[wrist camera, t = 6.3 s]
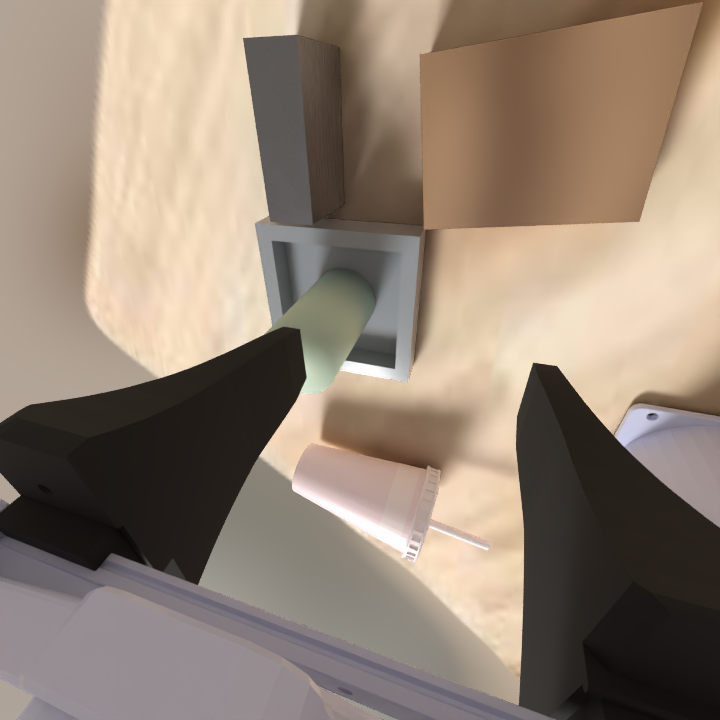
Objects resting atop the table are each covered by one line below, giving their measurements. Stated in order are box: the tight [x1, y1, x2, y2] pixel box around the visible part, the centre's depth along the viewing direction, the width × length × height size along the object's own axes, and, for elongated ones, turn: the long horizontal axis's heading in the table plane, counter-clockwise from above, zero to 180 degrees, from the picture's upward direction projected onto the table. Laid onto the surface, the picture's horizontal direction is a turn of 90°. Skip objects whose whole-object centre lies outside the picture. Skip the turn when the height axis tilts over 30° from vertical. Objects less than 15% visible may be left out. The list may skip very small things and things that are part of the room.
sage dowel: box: [264, 268, 376, 394], centre depth 19 cm, size 4×4×6 cm
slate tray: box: [255, 216, 426, 382], centre depth 21 cm, size 8×8×2 cm
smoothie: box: [292, 444, 490, 562], centre depth 26 cm, size 6×6×14 cm
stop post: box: [243, 35, 344, 225], centre depth 15 cm, size 2×6×4 cm, turn 1°
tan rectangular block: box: [420, 2, 703, 230], centre depth 14 cm, size 8×6×2 cm
